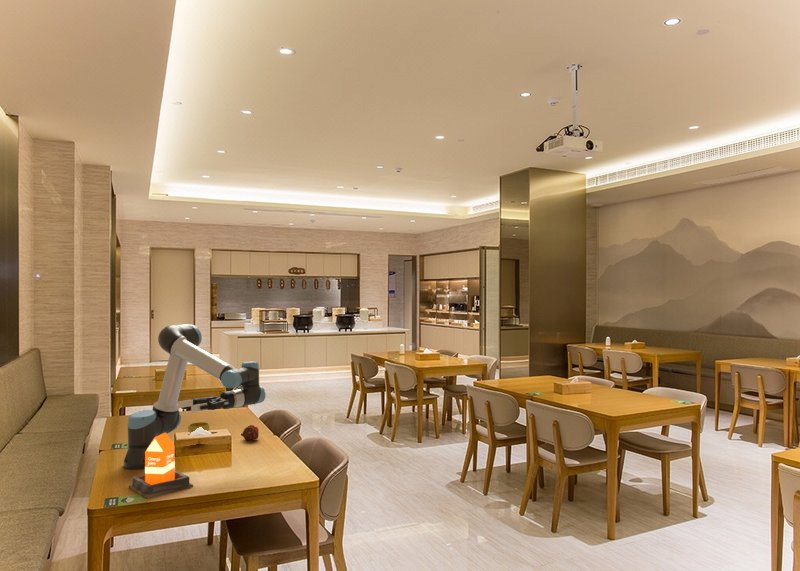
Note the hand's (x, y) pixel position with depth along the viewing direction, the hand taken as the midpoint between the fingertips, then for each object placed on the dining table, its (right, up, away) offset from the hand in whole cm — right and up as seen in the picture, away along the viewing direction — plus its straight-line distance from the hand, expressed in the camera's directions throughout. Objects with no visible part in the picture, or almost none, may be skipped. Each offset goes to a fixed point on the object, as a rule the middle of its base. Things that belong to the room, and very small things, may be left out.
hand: (184, 406), depth 238 cm
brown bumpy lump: (+11, -31, +64) cm, 72 cm away
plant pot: (-15, -31, +59) cm, 68 cm away
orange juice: (-6, -29, -11) cm, 32 cm away
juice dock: (-6, -30, -10) cm, 32 cm away
